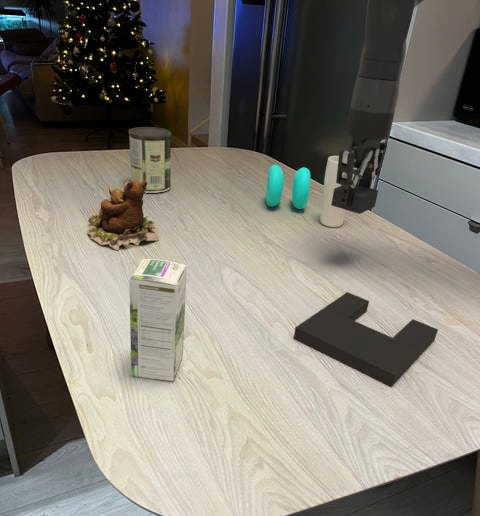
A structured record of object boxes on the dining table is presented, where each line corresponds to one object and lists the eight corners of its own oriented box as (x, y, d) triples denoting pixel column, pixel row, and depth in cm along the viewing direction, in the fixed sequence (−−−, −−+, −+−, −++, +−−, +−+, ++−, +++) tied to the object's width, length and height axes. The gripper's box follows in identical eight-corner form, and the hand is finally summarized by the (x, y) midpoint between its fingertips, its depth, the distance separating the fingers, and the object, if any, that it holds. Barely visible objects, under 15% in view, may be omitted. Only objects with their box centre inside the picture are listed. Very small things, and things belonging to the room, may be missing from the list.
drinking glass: (339, 231, 113) (352, 165, 105) (312, 224, 116) (323, 159, 108) (349, 223, 119) (362, 159, 111) (322, 216, 121) (334, 153, 113)
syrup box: (142, 351, 69) (140, 256, 61) (184, 357, 69) (187, 262, 61) (130, 377, 64) (126, 277, 56) (175, 383, 64) (177, 283, 56)
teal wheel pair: (306, 215, 121) (312, 174, 116) (265, 211, 121) (270, 170, 115) (303, 201, 129) (309, 163, 124) (265, 198, 129) (269, 159, 124)
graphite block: (346, 198, 97) (349, 182, 95) (374, 207, 94) (378, 190, 92) (331, 205, 93) (334, 188, 91) (359, 214, 90) (363, 196, 88)
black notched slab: (345, 301, 86) (347, 291, 85) (434, 340, 78) (438, 329, 76) (293, 338, 75) (295, 327, 74) (391, 387, 67) (395, 375, 66)
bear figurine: (136, 217, 111) (134, 161, 104) (169, 241, 101) (169, 182, 95) (76, 226, 104) (70, 167, 97) (105, 253, 94) (101, 190, 87)
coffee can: (153, 179, 135) (152, 125, 128) (179, 189, 130) (179, 133, 122) (122, 185, 128) (119, 128, 121) (148, 196, 123) (147, 137, 115)
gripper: (373, 114, 77) (352, 217, 86) (410, 107, 87) (388, 200, 96) (331, 106, 81) (316, 206, 90) (372, 100, 91) (354, 190, 100)
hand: (353, 202), depth 93 cm, fingers closed on graphite block, 6 cm apart
